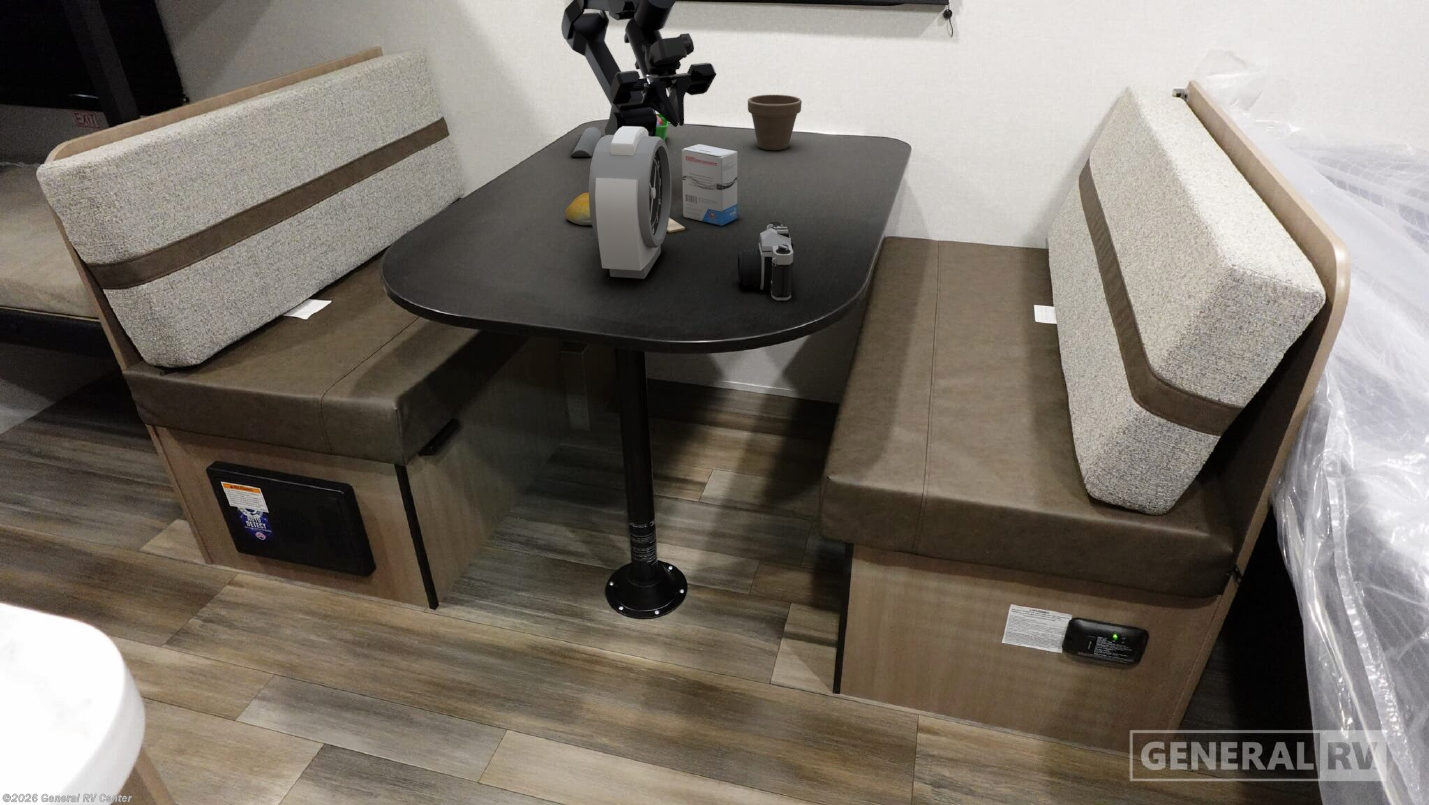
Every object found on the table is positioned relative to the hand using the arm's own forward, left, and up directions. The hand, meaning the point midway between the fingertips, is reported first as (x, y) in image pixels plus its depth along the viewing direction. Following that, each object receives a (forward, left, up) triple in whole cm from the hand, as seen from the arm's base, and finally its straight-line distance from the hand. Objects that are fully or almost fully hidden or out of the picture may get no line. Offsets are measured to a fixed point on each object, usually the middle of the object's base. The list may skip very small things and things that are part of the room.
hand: (679, 124), depth 153 cm
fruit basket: (-30, +28, -14) cm, 44 cm away
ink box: (+10, -4, -14) cm, 17 cm away
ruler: (+2, -10, -14) cm, 17 cm away
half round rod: (-40, +18, -14) cm, 46 cm away
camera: (+33, -23, -14) cm, 42 cm away
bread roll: (-7, -16, -14) cm, 22 cm away
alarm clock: (+13, -28, -14) cm, 34 cm away
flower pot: (-6, +41, -14) cm, 44 cm away
